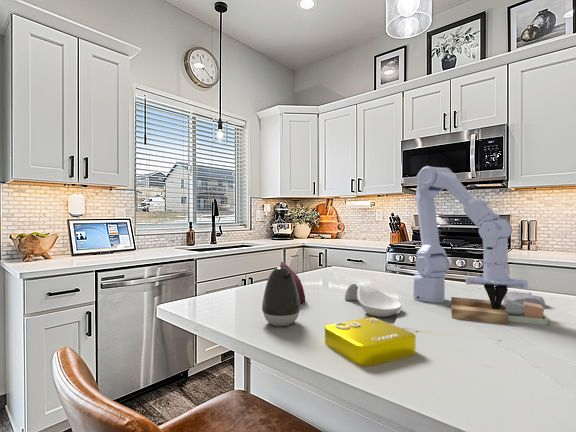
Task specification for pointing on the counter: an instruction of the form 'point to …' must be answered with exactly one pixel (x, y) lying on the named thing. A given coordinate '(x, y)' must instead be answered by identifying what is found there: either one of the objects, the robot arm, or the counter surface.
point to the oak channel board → (477, 310)
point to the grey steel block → (513, 308)
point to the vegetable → (298, 284)
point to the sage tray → (530, 320)
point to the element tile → (369, 341)
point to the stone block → (524, 298)
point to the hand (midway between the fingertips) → (495, 312)
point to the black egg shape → (281, 298)
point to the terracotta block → (533, 310)
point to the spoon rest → (373, 300)
